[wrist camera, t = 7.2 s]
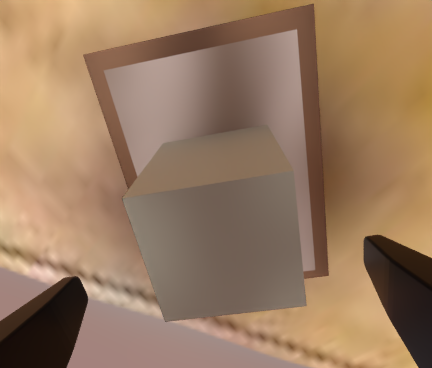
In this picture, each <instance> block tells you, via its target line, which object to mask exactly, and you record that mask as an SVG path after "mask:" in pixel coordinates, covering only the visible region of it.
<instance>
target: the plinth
mask: <svg viewBox="0 0 432 368" xmlns="http://www.w3.org/2000/svg"><path fill="white" fill-rule="evenodd" d="M83 56H84V59H85V62H86V65H87V68H88V71H89V74H90V77H91V80H92V83H93V86H94V89H95V92H96V95H97V98H98V101H99V103H100V106H101V109H102V112H103V115H104V118H105V121H106V124H107V127H108V130H109V133H110V136H111V139H112V142H113V145H114V148H115V151H116V154H117V157H118V160H119V163H120V166H121V169H122V172H123V175H124V178H125V181H126V184H127V187H128V189H129V188H130V187H131V185H132V184H133V183H134V181H135V180H136V179H137V177H138V176H139V175H140V173H141V172H142V171H143V169H144V168H145V167H146V165H147V164H148V163H149V161H150V160H151V159H152V157H153V156H154V155H155V153H156V152H157V151H158V149H159V148H160V147H161V145H162V144H163V143H167V142H173V141H178V140H184V139H189V138H195V137H200V136H206V135H211V134H217V133H223V132H228V131H234V130H239V129H245V128H250V127H256V126H261V125H268V127H269V128H270V130H271V132H272V134H273V135H274V137H275V139H276V141H277V142H278V144H279V146H280V148H281V149H282V151H283V153H284V155H285V156H286V158H287V160H288V162H289V163H290V165H291V167H292V169H293V170H294V179H295V190H296V200H297V211H298V221H299V232H300V243H301V253H302V264H303V274H304V279H306V278H314V277H322V276H329V273H328V255H327V236H326V218H325V200H324V181H323V163H322V145H321V127H320V108H319V90H318V72H317V53H316V35H315V17H314V4H310V5H306V6H301V7H297V8H292V9H288V10H283V11H279V12H274V13H270V14H265V15H260V16H256V17H251V18H247V19H242V20H238V21H233V22H229V23H224V24H220V25H215V26H211V27H206V28H202V29H197V30H193V31H188V32H184V33H179V34H175V35H170V36H166V37H161V38H157V39H152V40H148V41H143V42H139V43H134V44H130V45H125V46H121V47H116V48H112V49H107V50H103V51H98V52H94V53H89V54H84V55H83Z"/></svg>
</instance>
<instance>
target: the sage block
mask: <svg viewBox="0 0 432 368" xmlns="http://www.w3.org/2000/svg"><path fill="white" fill-rule="evenodd" d="M122 200H123V203H124V206H125V209H126V212H127V215H128V217H129V220H130V223H131V226H132V229H133V232H134V235H135V237H136V240H137V243H138V246H139V249H140V252H141V255H142V257H143V260H144V263H145V266H146V269H147V272H148V275H149V277H150V280H151V283H152V286H153V289H154V292H155V294H156V297H157V300H158V303H159V306H160V309H161V312H162V314H163V317H164V320H165V322H168V321H177V320H186V319H195V318H204V317H213V316H222V315H231V314H240V313H248V312H257V311H266V310H275V309H284V308H293V307H302V306H306V295H305V285H304V274H303V264H302V253H301V243H300V232H299V221H298V211H297V200H296V190H295V179H294V170H293V169H292V167H291V165H290V163H289V162H288V160H287V158H286V156H285V155H284V153H283V151H282V149H281V148H280V146H279V144H278V142H277V141H276V139H275V137H274V135H273V134H272V132H271V130H270V128H269V127H268V125H261V126H256V127H250V128H245V129H239V130H234V131H228V132H223V133H217V134H211V135H206V136H200V137H195V138H189V139H184V140H178V141H173V142H167V143H163V144H162V145H161V147H160V148H159V149H158V151H157V152H156V153H155V155H154V156H153V157H152V159H151V160H150V161H149V163H148V164H147V165H146V167H145V168H144V169H143V171H142V172H141V173H140V175H139V176H138V177H137V179H136V180H135V181H134V183H133V184H132V185H131V187H130V188H129V189H128V191H127V192H126V193H125V195H124V196H123V197H122Z"/></svg>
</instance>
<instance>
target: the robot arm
mask: <svg viewBox="0 0 432 368" xmlns="http://www.w3.org/2000/svg"><path fill="white" fill-rule="evenodd" d="M364 264H365V267H366V270H367V272H368V274H369V276H370V278H371V281H372V283H373V285H374V287H375V289H376V292H377V294H378V296H379V298H380V300H381V303H382V305H383V307H384V309H385V311H386V313H387V315H388V317H389V319H390V320H391V322H392V324H393V326H394V327H395V329H396V331H397V332H398V334H399V336H400V337H401V339H402V341H403V342H404V344H405V346H406V347H407V349H408V351H409V352H410V354H411V356H412V357H413V359H414V361H415V362H416V364H417V366H418V367H419V368H432V258H430V257H428V256H426V255H424V254H421V253H419V252H417V251H415V250H413V249H410V248H408V247H406V246H404V245H401V244H399V243H397V242H395V241H393V240H390V239H388V238H386V237H384V236H381V235H373V236H366V237H365V238H364ZM87 303H88V296H87V293H86V291H85V289H84V287H83V284H82V282H81V280H80V278H78V277H77V276H73V277H66V278H63V279H62V280H60V281H59V282H57V283H56V284H54V285H53V286H51V287H50V288H49V289H47V290H46V291H44V292H43V293H41V294H40V295H38V296H37V297H35V298H34V299H32V300H31V301H29V302H28V303H27V304H25V305H23V306H22V307H20V308H19V309H18V310H16V311H15V312H13V313H12V314H10V315H9V316H7V317H6V318H4V319H3V320H1V321H0V368H67V365H68V363H69V360H70V358H71V355H72V352H73V350H74V347H75V343H76V340H77V337H78V334H79V330H80V327H81V323H82V320H83V317H84V313H85V310H86V307H87Z"/></svg>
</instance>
